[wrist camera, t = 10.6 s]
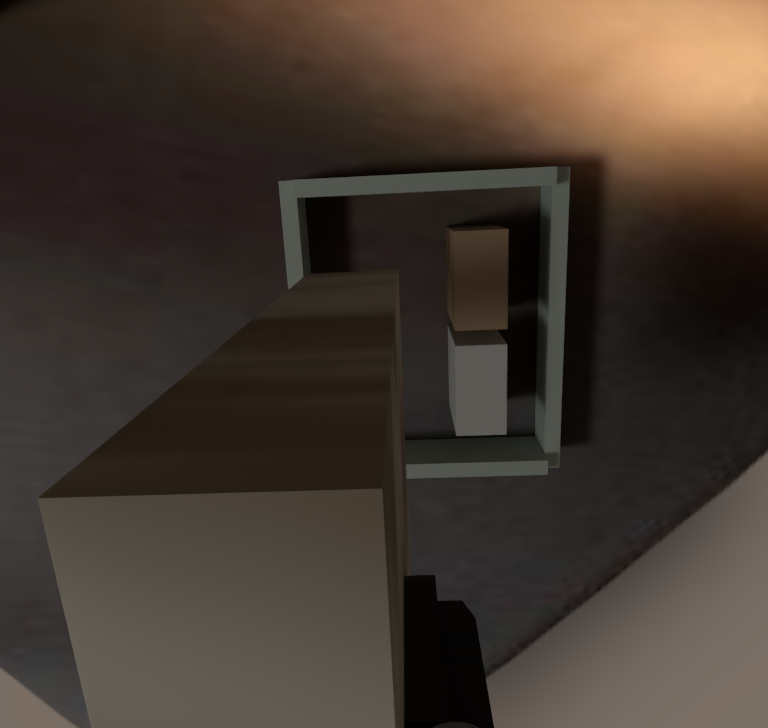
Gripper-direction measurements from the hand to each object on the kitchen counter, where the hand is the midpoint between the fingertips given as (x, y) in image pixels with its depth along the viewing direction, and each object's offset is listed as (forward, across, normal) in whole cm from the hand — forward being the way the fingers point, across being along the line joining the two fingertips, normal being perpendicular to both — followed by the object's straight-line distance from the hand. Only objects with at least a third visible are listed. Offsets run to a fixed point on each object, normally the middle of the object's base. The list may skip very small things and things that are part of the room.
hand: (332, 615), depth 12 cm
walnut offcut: (+29, -6, -3) cm, 30 cm away
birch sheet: (+9, 0, 0) cm, 9 cm away
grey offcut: (+29, -6, +3) cm, 30 cm away
